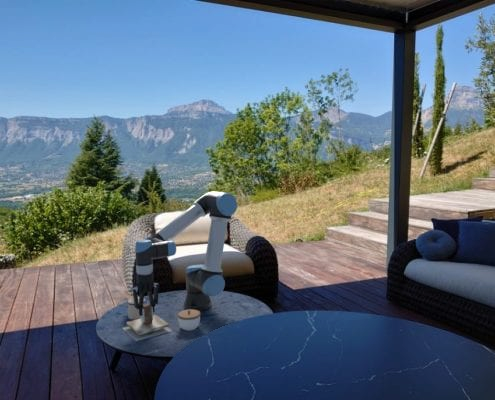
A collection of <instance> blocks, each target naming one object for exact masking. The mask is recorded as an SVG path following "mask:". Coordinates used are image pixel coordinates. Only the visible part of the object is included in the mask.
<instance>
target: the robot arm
mask: <svg viewBox="0 0 495 400" xmlns="http://www.w3.org/2000/svg"><path fill="white" fill-rule="evenodd" d="M237 210H238V201H237V199H236V198H235V196H234V195H233V194H231V193H228V192H223V191H215V190H214V191H209V192H206V193H205V194H203V195H202V196H201V197H199V198H197V200H194V201H193V203H192V205H191V206H190V207H189V208H188V209H186V210H185V211H184V212H182V213H181V214H180V215H178V216H177V217H176V218H175V219H173V220H171V222H169V223H168V224H166V225H165V226H164V227H163V228H162V229H160V230H159V231H158V232H156V233H155V234H154V235H152V236H147V237H145V238H144V239H139V240H137V241H135V243H134V244H135V246H134V248H135V249H134V252H135V265H136V266H135V268H136V269H135V270H136V283H137V284H136V285H135V286H134V287H132V288H131V289H130V290H131V292H132V296H133V297H132V298H134V306H135V308H136V309H139V315H140V316H141V321H142V322H143V323H144V322H145V314H144V309H143V301H144V299H145V294H146V293H147V296H148V300H149V304H150V305H151V306H152V320H153V315H154V313H155V312H156V311H155V307H156V305H158V304H159V287H160V284H159V283H158V282H154V266H153V265H154V264H153V260H157V259H163V258H167V257H168V258H169V257H173V256H175V255H176V253H177V245H176V242H175V241H174V239H175V238H176V237H177V236H178V235H180V234H181V233H182V232H183V231H184V230H186V229H187V228H189V227H190V226H191V225H193V224H194V223H196V221H197V220H199V219H200V218H201V217H203V218H204V217H206V216H207V215H209V218H210V220H211V221H210V228H209V234H208V239H207V246H206V250H205V252H206V253H205V258H204V264H193V265H188V266H187V267H186V268H185V284H186V285H185V286H186V289H185V290H186V293H185V297H184V300H183V308H184V310H189V309H193V310H198V311H199V312H202V311H205V310H208V309H209V308H211V307H212V301H211V298H210V297H216V296H218V295H220V294H221V293H222V292H223V291H224V288H225V286H226V281H225V279H224V277H223V269H222V267H221V266H222V260H223V253H224V247H225V246H224V245H225V242H226V241H225V240H226V234H227V229H228V228H227V227H228V222H230V221H231V219H232V216H233V215H234V214H235V213H236V211H237ZM152 290H153V291H152ZM138 291H139V295H138ZM138 297H139V304H138Z"/></svg>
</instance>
